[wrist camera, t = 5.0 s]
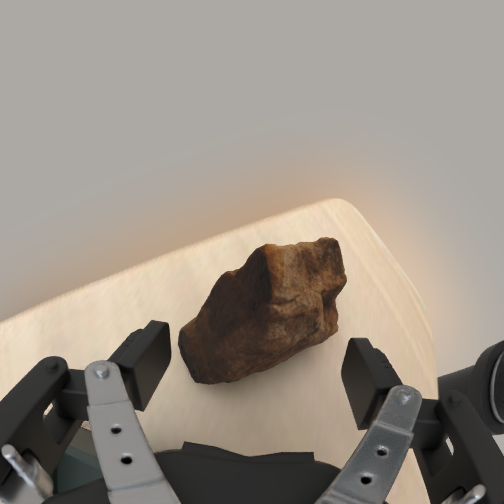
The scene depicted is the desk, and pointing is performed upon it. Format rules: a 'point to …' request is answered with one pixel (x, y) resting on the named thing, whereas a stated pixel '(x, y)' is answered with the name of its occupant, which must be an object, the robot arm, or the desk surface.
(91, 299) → the desk surface
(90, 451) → the bin
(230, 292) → the decorative rock
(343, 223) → the desk surface
